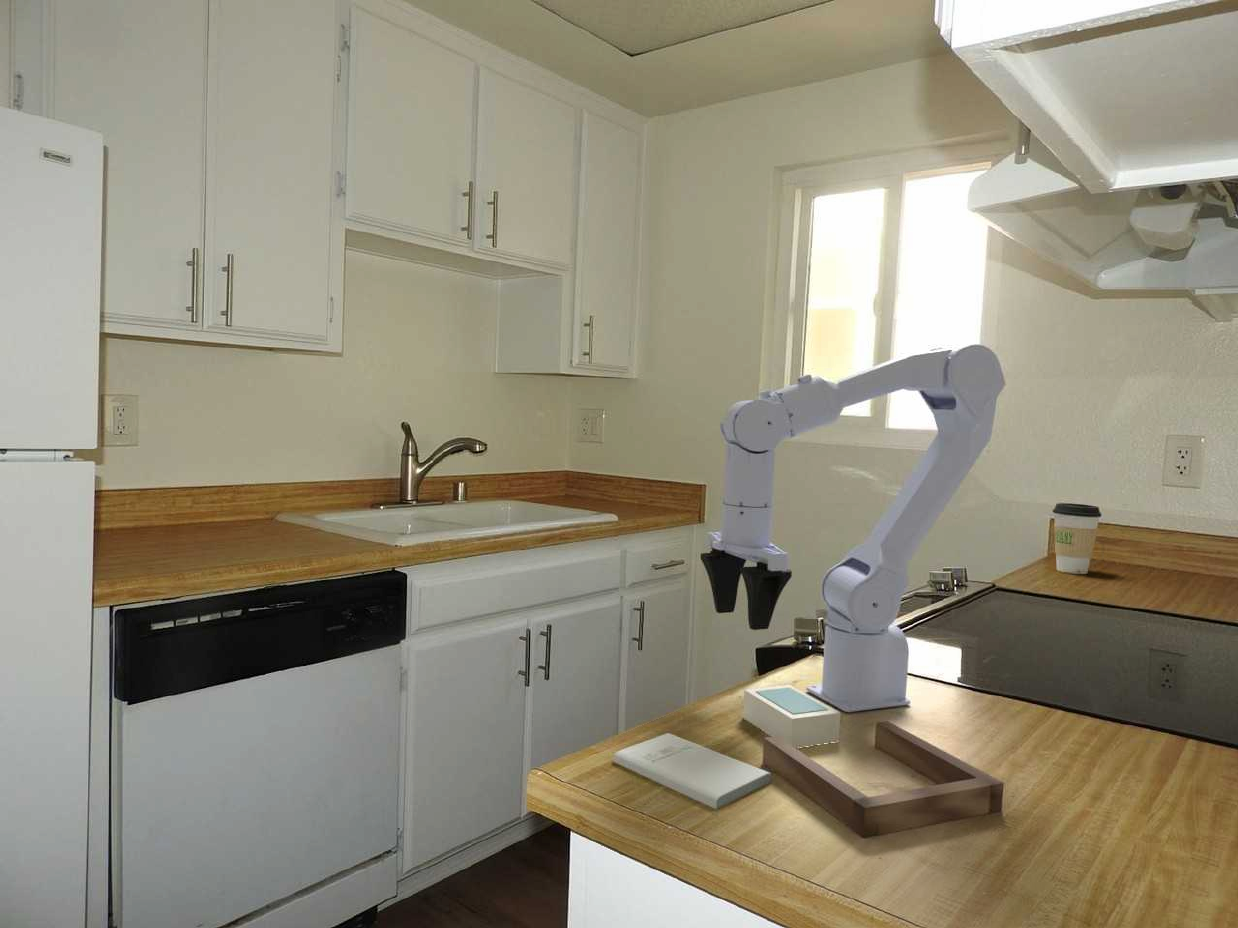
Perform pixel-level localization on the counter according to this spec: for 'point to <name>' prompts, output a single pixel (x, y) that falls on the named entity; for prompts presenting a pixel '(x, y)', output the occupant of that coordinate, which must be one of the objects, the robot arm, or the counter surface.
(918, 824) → the frame
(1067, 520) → the coffee cup
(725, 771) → the external hard drive
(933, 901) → the counter surface
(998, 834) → the counter surface
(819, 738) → the card box
